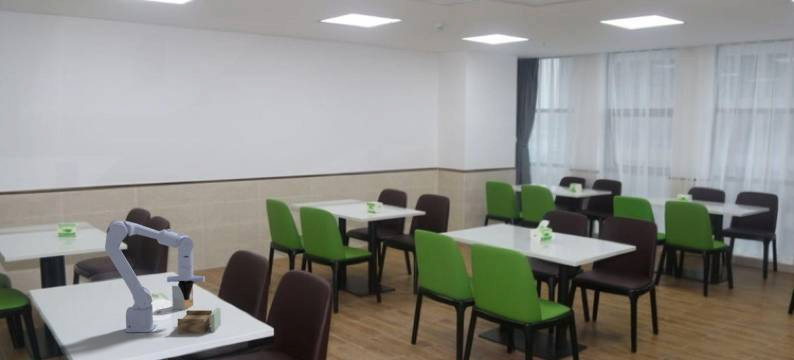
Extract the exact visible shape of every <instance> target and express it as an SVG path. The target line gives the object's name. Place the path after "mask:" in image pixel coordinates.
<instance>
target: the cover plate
mask: <svg viewBox="0 0 794 360" xmlns="http://www.w3.org/2000/svg"><path fill="white" fill-rule="evenodd" d="M221 318H222V317H221V307H216V308H215V309H214V310H212V313H211V314H210V322H211V326H210V333H216V331H217V330H218V329H219V327H220V326H221V325H222V324H221V323H222V319H221Z"/></svg>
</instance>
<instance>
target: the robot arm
mask: <svg viewBox="0 0 794 360" xmlns="http://www.w3.org/2000/svg"><path fill="white" fill-rule="evenodd" d="M134 235H139V236H143V237H147V238H151V239H155V240H157V242H158V244H160V245H164V246H167V247H170V248H174V249H177V248H178V249H177V272H178V273H177V274H178V275H172V276H171V275H170V276H169V275H168V276H167V277H166V282H167V283H171V282H173V283H174V282H175V283H177V284H178V283H179V284H178V286H179V288H180V289H181V291H182V294H183V297H184V300H188V299H189V296H190V292H191V289H192V286H194V284H195V282H196V283H198V282H201V283H205V281H206V276H205V275H194V253H193V248H194V246H195V244H194V241H193V239H192V238H191V237H190V236H188V235H187V234H183V233H181V232H179V233H177V232H174V231H172V230H171V229H170V228H167V229H162V230H157V229H154V228H151V227H147V226H144V225H142V224H139V223H135V222H132V221H128V220H125V221H124V220H122V219H114V220H112V221H111V222H110V223H109V225H108V228H107V229H106V234H105V245H104V248H105V251H106V253H107V255H108V257H109V258H110V260H111V262H112V263H113V265H114V266H115V268H116V269H117V271H118V273H119V274H120V276H121V279H122V280H123V281H124V283H125V285H126V286H127V287H128V290H129V291H130V293H131V295H132V299H133V300H134V301H133V303H134V304H133V305H132V306H129V307H128V308H127V309H126V312H125V328H126V329H125V333H150V332H152V331H153V330H155V328H156V327H157V326H158V324H154V311H153V310H154V309H153V304H152V301H153V298H152V296H151V293H150V290H149V289H147V288H146V287H145V286H144V285H143V284H142V283H141V281H140V279H139V278H138V276H137V275H136V273H135V271H134V270H133V268H132V266H131V265H130V263H129V261H128V259H126V256H125V255H124V253H123V252H122V250H121V249H120V247H121V244H122V242H123V240H125V238H126V237H127V236H129V237H132V236H134Z"/></svg>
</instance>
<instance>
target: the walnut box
mask: <svg viewBox="0 0 794 360" xmlns="http://www.w3.org/2000/svg"><path fill="white" fill-rule="evenodd" d="M212 312H213V310H212V309H211V310H209V309H208V310H205V309H203V310H202V309H201V310H197V309H196V310H188V309H187V310H186V314H185V315H184V316H183V317H182V318H177V334H205V333H206V331H207V330H209V328H211V322H210V314H211V313H212Z"/></svg>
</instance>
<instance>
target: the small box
mask: <svg viewBox="0 0 794 360" xmlns="http://www.w3.org/2000/svg"><path fill="white" fill-rule="evenodd" d="M178 284H179V282H177V283H175V284H174V285H171V290H172V295H171V296H172V310H178V311H179V310H181V311H183V310H184V311H185V310H186V309H187V310H188V308H190V307H193V306H194V295H193V294H194V287H193V286H194V285H193V286H192V289H191V292H190V296H189V299H188V300H184V297H183V294H182V291H181V289H180V288H179V286H178Z"/></svg>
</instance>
